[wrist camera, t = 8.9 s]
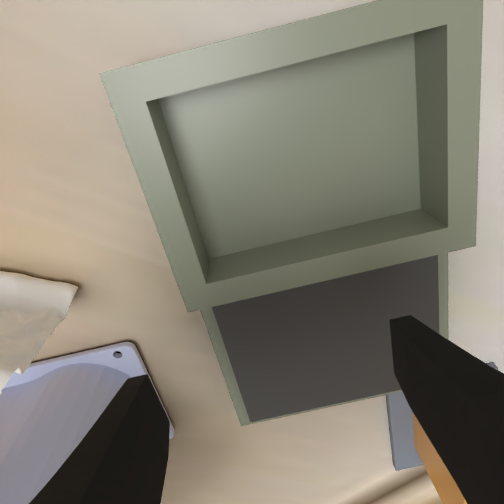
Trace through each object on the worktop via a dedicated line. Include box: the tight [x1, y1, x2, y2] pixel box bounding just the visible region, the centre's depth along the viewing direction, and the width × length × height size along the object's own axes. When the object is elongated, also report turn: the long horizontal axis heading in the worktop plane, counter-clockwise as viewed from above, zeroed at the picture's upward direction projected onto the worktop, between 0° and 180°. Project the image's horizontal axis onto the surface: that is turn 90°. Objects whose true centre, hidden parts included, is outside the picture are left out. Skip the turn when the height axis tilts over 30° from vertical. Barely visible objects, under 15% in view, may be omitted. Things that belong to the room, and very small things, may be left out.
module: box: [412, 411, 467, 504], centre depth 22 cm, size 4×5×7 cm
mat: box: [386, 363, 498, 471], centre depth 26 cm, size 7×8×1 cm
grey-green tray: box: [99, 0, 483, 426], centre depth 18 cm, size 13×20×4 cm, turn 13°
